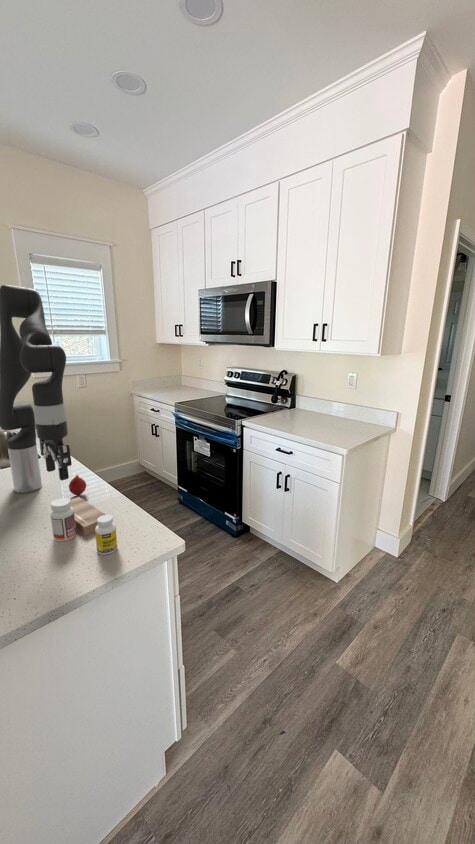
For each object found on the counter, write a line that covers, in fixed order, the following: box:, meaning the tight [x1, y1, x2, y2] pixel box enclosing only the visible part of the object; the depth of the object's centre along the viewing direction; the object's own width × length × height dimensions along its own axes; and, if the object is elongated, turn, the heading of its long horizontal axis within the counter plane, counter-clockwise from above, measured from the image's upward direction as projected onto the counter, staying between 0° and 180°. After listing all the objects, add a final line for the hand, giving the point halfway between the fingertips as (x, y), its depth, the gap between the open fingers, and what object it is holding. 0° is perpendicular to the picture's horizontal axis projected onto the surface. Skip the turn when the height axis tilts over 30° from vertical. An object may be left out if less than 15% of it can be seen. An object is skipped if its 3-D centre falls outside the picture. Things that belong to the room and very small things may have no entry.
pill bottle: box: [50, 497, 77, 542], centre depth 103 cm, size 6×6×11 cm
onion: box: [68, 474, 87, 497], centre depth 129 cm, size 6×6×8 cm
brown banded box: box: [70, 496, 106, 537], centre depth 114 cm, size 20×8×3 cm, turn 49°
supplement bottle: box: [94, 514, 118, 556], centre depth 98 cm, size 5×5×10 cm
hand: (57, 475), depth 100 cm, fingers open, 8 cm apart
